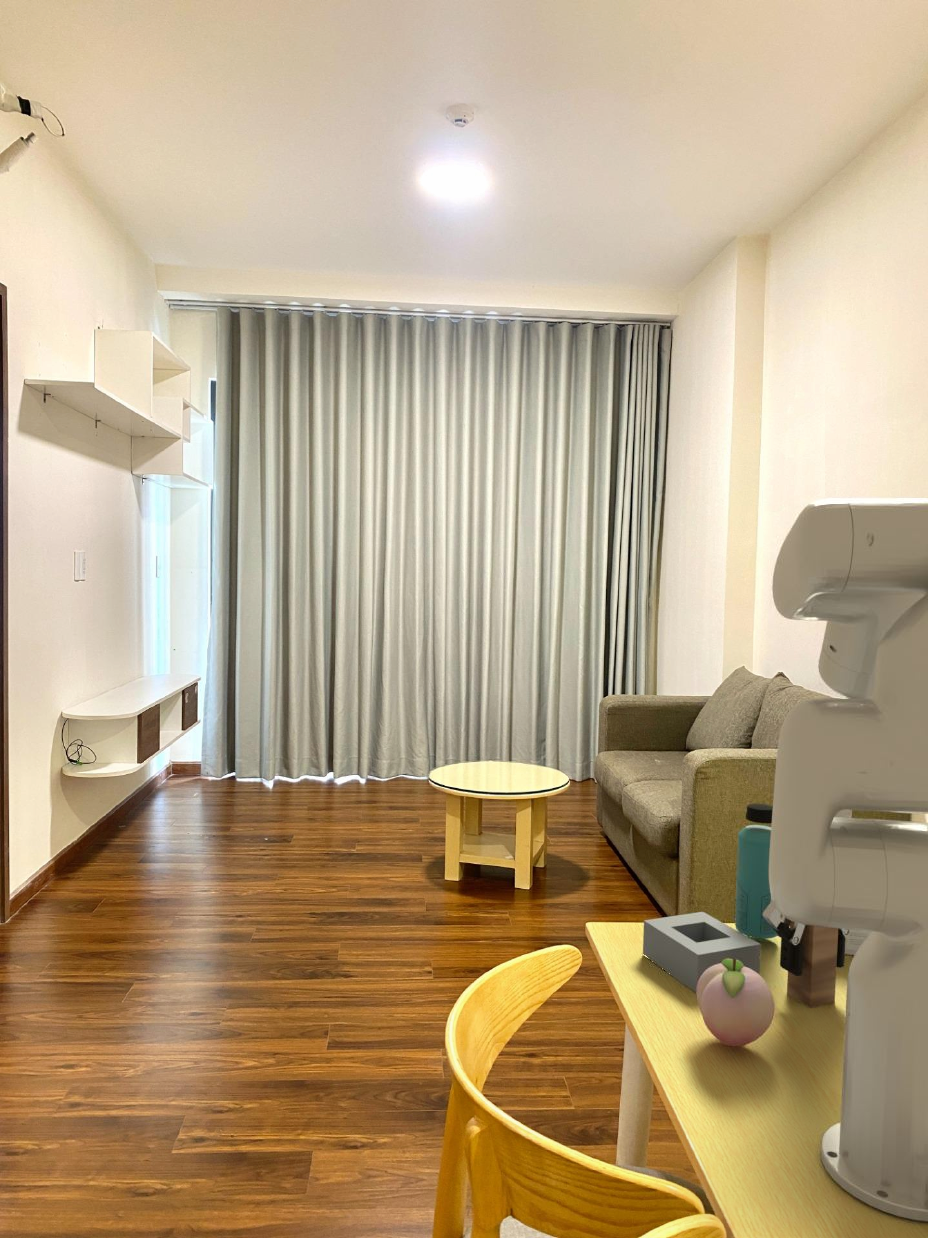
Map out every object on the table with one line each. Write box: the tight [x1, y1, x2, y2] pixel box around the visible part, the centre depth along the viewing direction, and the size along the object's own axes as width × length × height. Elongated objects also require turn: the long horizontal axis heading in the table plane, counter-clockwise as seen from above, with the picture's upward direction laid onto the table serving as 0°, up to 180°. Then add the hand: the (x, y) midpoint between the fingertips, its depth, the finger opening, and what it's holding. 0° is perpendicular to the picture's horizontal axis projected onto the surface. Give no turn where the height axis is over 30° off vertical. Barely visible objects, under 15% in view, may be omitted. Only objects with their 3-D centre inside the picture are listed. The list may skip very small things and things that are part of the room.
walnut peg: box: [786, 921, 838, 1009], centre depth 114 cm, size 4×4×12 cm
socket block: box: [642, 911, 761, 994], centre depth 122 cm, size 12×10×5 cm
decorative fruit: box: [696, 958, 776, 1047], centre depth 102 cm, size 9×8×10 cm
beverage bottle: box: [733, 803, 782, 940], centre depth 132 cm, size 6×7×20 cm
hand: (812, 966), depth 114 cm, fingers open, 6 cm apart
